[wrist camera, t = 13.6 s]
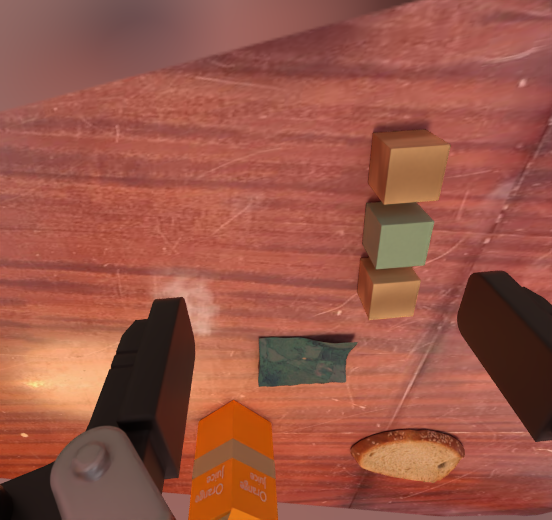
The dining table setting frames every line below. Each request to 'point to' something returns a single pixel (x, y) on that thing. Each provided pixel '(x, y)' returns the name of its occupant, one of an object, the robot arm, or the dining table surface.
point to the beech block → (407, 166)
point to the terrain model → (301, 361)
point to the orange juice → (233, 467)
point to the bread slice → (409, 454)
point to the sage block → (396, 234)
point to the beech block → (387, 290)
